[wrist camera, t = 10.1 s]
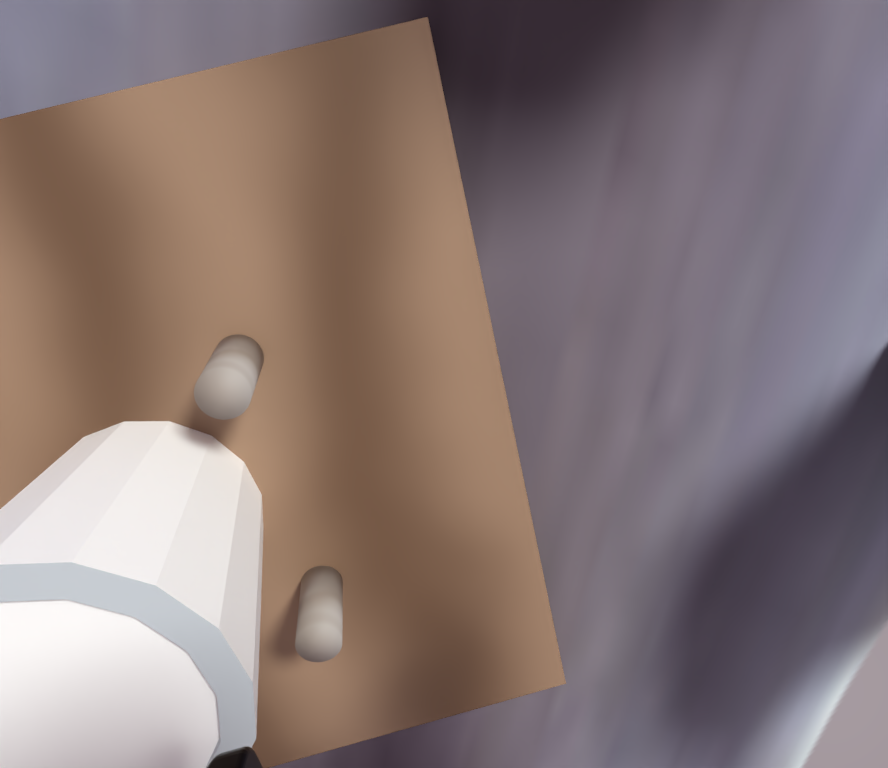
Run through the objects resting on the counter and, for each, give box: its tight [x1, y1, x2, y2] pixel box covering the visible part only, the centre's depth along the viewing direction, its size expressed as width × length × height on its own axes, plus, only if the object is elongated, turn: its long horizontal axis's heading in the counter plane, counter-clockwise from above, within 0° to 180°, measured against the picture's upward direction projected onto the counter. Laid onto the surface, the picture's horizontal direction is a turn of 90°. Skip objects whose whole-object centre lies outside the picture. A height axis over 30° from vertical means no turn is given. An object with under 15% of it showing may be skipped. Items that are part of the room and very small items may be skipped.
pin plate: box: [0, 17, 566, 768], centre depth 18 cm, size 20×20×4 cm
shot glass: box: [0, 421, 263, 768], centre depth 15 cm, size 7×7×7 cm
